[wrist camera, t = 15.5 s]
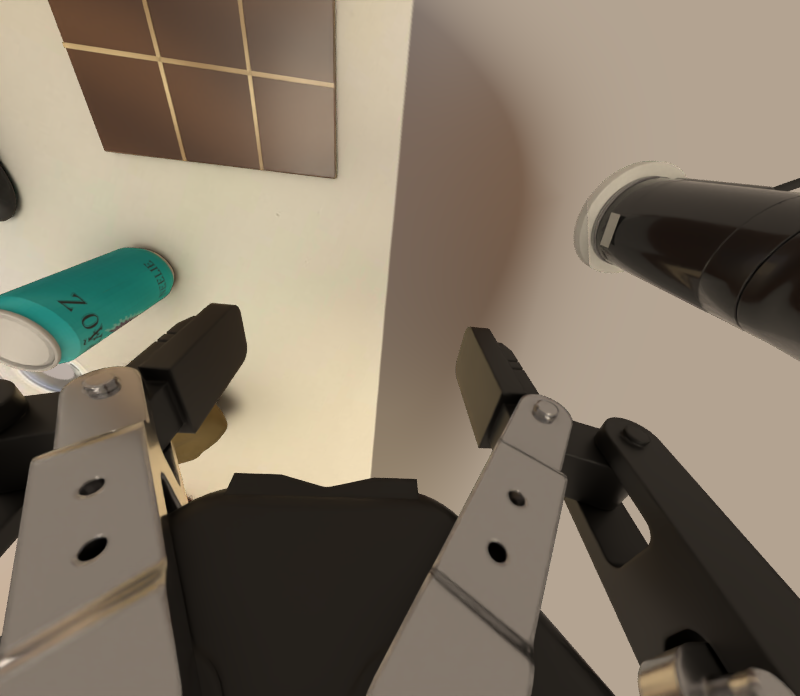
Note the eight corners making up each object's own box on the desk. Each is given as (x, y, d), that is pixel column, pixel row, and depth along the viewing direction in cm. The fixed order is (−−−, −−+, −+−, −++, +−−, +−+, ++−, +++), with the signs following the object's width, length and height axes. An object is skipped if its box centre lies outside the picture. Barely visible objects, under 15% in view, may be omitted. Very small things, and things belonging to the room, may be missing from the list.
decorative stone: (229, 369, 41) (190, 425, 33) (247, 423, 47) (218, 482, 39) (98, 366, 40) (23, 424, 31) (134, 423, 46) (80, 483, 38)
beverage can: (144, 296, 34) (10, 380, 22) (109, 247, 31) (-71, 313, 19) (190, 289, 34) (82, 369, 22) (161, 238, 31) (13, 299, 19)
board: (-53, -303, 15) (-80, -332, 15) (333, -206, 18) (330, -226, 17) (112, 151, 27) (103, 151, 26) (336, 177, 29) (335, 178, 28)
